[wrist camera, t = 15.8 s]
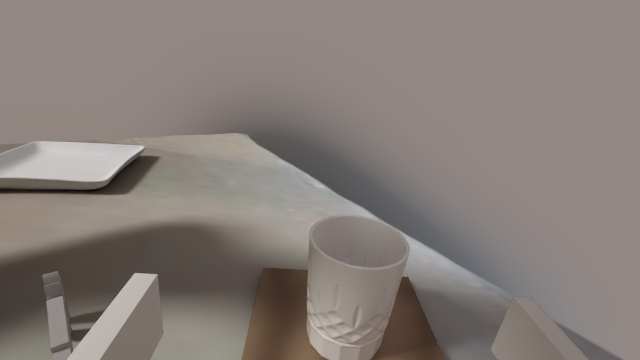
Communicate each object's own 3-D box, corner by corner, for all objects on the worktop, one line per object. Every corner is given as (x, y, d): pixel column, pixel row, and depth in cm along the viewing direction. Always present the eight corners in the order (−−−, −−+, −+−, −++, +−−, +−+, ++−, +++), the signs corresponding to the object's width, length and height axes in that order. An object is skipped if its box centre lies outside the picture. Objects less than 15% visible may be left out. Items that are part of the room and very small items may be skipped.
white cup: (405, 342, 28) (429, 247, 24) (341, 393, 23) (360, 284, 20) (344, 290, 34) (357, 207, 30) (283, 323, 29) (289, 228, 25)
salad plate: (148, 158, 70) (146, 143, 69) (108, 198, 50) (105, 179, 49) (37, 155, 65) (33, 139, 64) (-54, 198, 46) (-62, 176, 45)
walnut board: (224, 442, 20) (224, 432, 20) (262, 274, 36) (263, 267, 36) (476, 450, 21) (480, 441, 21) (406, 283, 37) (407, 276, 37)
